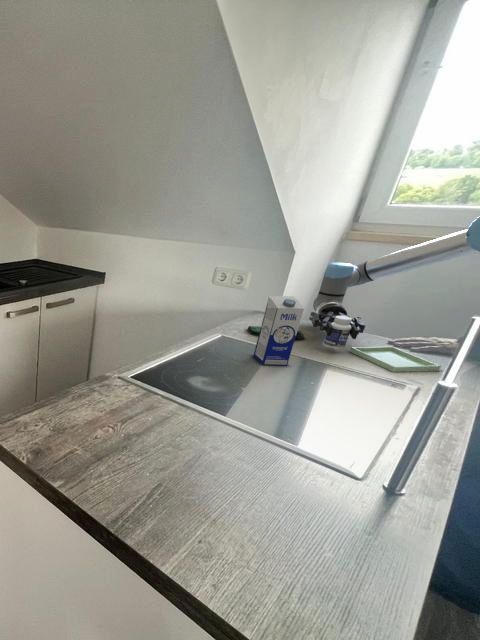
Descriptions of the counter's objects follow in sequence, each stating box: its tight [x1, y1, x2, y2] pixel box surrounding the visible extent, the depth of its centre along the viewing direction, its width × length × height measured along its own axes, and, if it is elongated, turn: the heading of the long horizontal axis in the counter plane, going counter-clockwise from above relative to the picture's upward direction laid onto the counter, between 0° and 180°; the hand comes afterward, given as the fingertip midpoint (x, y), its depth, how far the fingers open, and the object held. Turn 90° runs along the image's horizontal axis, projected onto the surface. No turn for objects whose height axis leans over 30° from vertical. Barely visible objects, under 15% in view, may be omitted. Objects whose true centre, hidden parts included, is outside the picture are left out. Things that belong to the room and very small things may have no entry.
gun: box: [247, 325, 305, 341], centre depth 141 cm, size 16×2×10 cm
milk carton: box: [253, 295, 305, 366], centre depth 117 cm, size 7×7×20 cm
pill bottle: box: [323, 316, 353, 350], centre depth 124 cm, size 5×5×10 cm
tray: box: [349, 345, 442, 373], centre depth 119 cm, size 15×13×2 cm
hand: (342, 333), depth 119 cm, fingers closed on pill bottle, 5 cm apart
